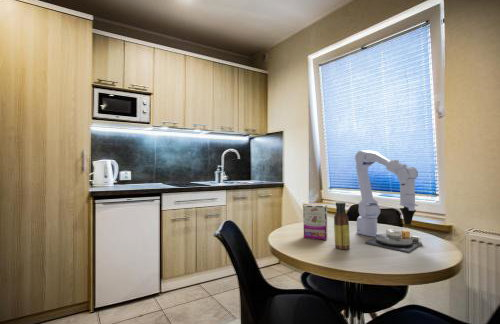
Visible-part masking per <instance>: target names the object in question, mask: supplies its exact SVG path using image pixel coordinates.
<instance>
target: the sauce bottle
mask: <svg viewBox="0 0 500 324" xmlns="http://www.w3.org/2000/svg"><path fill="white" fill-rule="evenodd" d="M335 207H336V212H335V214H334V216H333V224H334V225H333V226H334V227H333V229H334V230H333V231H334V244H335V245H334V246H335V248H336V249H338V250H349V249H350V247H351V239H350V224H349V223H350V222H349V216H348V215H347V212H346V202H344V201H336V202H335Z"/></svg>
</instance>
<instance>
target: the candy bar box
mask: <svg viewBox="0 0 500 324" xmlns="http://www.w3.org/2000/svg"><path fill="white" fill-rule="evenodd" d="M302 208H303V209H302V210H303V239H308V238H310V239H309V240H318V241H327V239H328V205H327V204H326V205H325V204H304V205H303V206H302Z"/></svg>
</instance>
